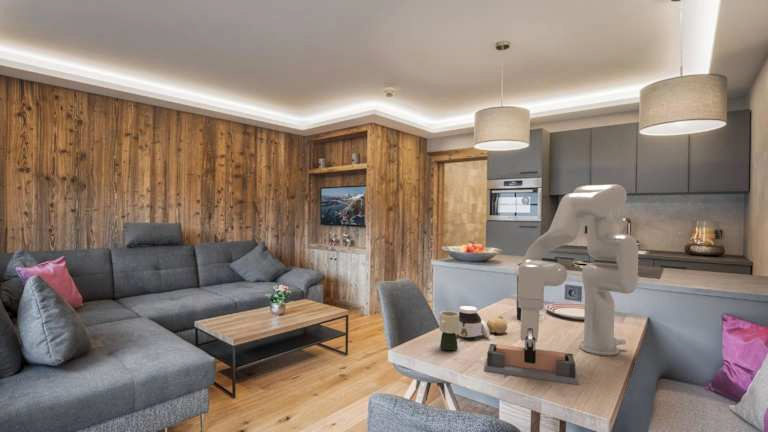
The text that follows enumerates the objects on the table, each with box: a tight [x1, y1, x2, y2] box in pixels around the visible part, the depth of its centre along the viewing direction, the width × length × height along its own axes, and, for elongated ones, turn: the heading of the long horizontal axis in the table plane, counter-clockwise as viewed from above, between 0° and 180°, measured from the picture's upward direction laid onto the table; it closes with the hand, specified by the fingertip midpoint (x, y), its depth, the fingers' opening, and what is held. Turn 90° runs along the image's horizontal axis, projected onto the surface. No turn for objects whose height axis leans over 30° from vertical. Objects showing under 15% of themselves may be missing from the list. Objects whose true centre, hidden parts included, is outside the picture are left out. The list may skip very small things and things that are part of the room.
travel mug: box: [516, 274, 521, 321], centre depth 183 cm, size 8×8×20 cm
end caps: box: [486, 343, 576, 378], centre depth 124 cm, size 25×9×4 cm, turn 69°
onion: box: [486, 314, 508, 335], centre depth 163 cm, size 8×8×7 cm
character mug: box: [438, 310, 459, 351], centre depth 143 cm, size 11×7×13 cm, turn 141°
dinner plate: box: [545, 302, 585, 321], centre depth 192 cm, size 28×27×3 cm
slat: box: [496, 344, 565, 372], centre depth 124 cm, size 20×4×5 cm, turn 69°
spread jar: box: [456, 305, 491, 341], centre depth 157 cm, size 12×11×12 cm
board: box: [483, 358, 580, 386], centre depth 124 cm, size 27×11×2 cm, turn 69°
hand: (529, 357), depth 124 cm, fingers open, 9 cm apart
